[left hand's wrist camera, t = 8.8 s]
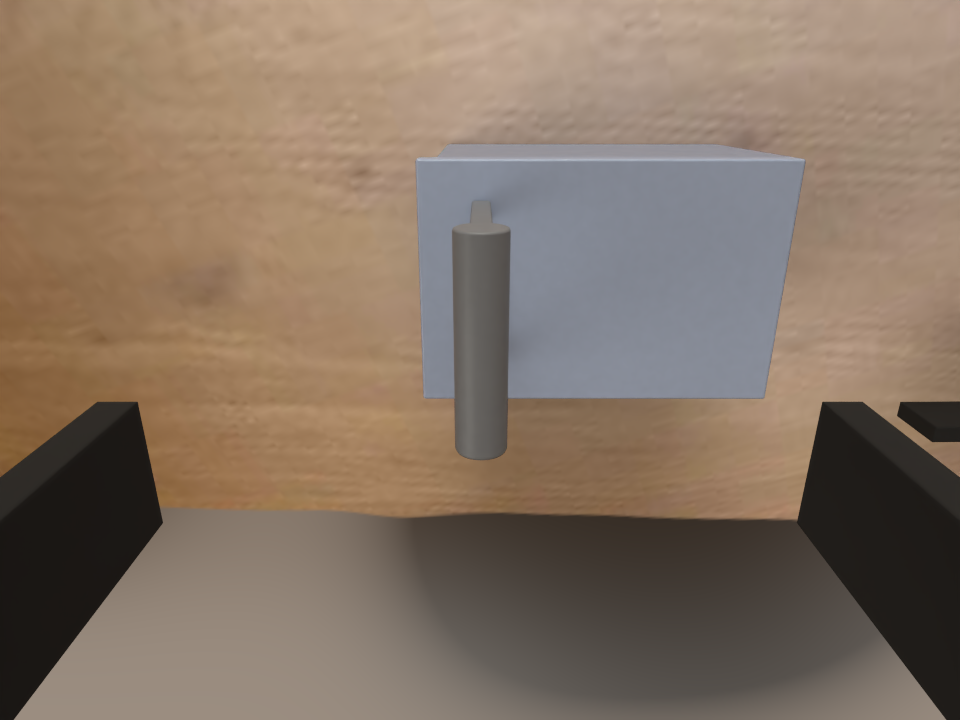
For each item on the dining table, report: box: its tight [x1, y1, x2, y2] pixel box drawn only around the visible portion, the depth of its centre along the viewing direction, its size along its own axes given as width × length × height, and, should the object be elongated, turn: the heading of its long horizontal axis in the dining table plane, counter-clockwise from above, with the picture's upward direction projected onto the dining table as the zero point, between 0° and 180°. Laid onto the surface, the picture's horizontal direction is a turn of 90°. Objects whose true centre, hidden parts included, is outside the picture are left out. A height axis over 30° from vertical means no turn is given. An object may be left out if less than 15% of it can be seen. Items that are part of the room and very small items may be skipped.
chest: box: [438, 144, 789, 157], centre depth 30 cm, size 13×10×9 cm
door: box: [416, 157, 805, 460], centre depth 22 cm, size 14×10×8 cm
